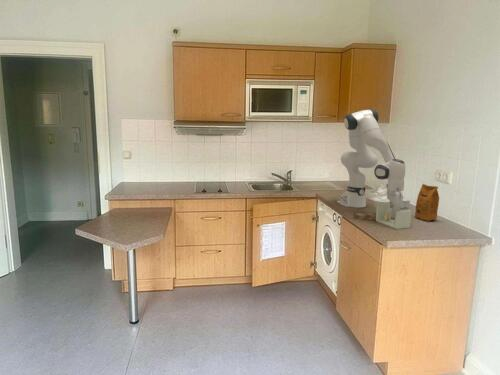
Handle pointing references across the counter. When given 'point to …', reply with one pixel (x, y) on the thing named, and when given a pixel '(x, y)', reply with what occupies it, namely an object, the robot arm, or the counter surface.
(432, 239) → the counter surface
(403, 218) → the pegged wall bracket
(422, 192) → the coffee package
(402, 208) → the supplement box
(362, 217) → the brown wooden block
